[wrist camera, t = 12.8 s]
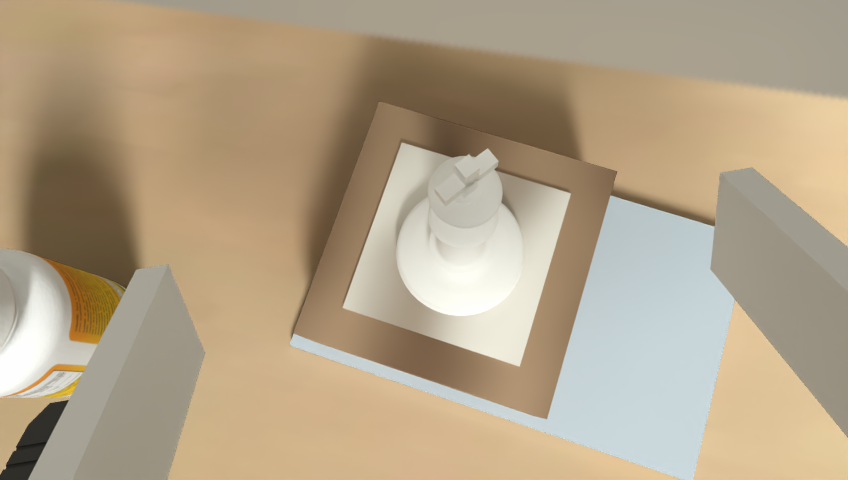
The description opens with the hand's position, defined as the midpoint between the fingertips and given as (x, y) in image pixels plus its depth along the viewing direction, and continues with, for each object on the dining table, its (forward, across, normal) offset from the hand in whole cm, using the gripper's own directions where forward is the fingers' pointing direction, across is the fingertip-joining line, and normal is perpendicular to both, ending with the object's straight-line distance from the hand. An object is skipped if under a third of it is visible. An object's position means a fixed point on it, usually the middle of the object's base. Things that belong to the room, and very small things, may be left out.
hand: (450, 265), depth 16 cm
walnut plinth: (+12, +1, -8) cm, 15 cm away
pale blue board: (+11, +3, -9) cm, 15 cm away
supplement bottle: (+12, -16, -9) cm, 22 cm away
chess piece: (+8, +1, -5) cm, 10 cm away
